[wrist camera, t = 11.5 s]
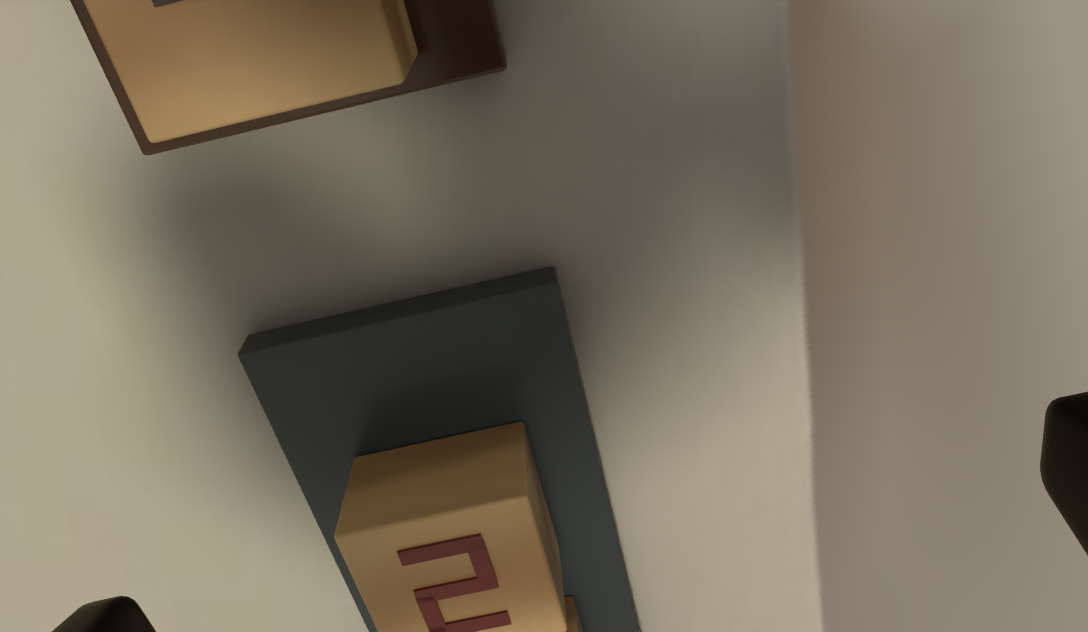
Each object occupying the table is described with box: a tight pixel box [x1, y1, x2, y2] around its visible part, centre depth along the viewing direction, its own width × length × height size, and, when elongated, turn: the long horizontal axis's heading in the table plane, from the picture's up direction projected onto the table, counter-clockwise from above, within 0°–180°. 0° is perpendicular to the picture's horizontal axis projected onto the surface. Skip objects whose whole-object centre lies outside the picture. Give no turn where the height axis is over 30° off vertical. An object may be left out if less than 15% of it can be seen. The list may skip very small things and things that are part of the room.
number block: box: [334, 421, 567, 632], centre depth 20 cm, size 5×5×3 cm
